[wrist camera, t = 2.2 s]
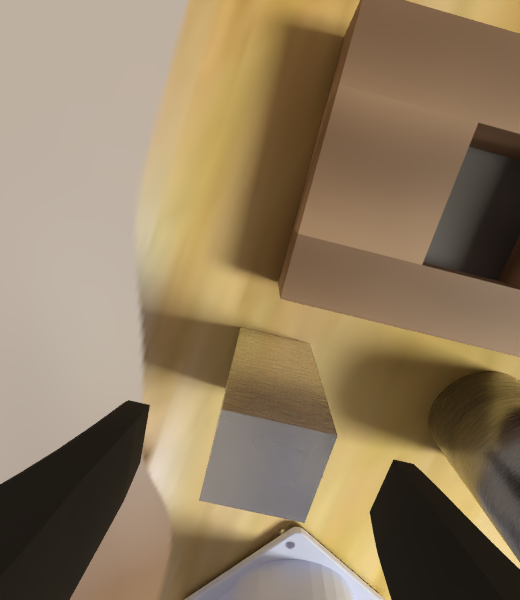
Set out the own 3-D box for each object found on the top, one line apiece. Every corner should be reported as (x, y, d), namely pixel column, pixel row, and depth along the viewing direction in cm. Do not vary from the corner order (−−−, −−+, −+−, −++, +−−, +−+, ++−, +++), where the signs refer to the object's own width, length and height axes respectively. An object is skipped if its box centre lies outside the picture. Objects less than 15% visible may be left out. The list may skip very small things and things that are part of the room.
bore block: (562, 352, 14) (623, 382, 12) (278, 282, 14) (280, 298, 11) (687, 133, 12) (797, 114, 9) (344, 36, 11) (365, -12, 9)
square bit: (290, 403, 15) (304, 523, 10) (225, 388, 15) (199, 500, 9) (309, 343, 14) (337, 435, 9) (240, 327, 14) (221, 409, 8)
